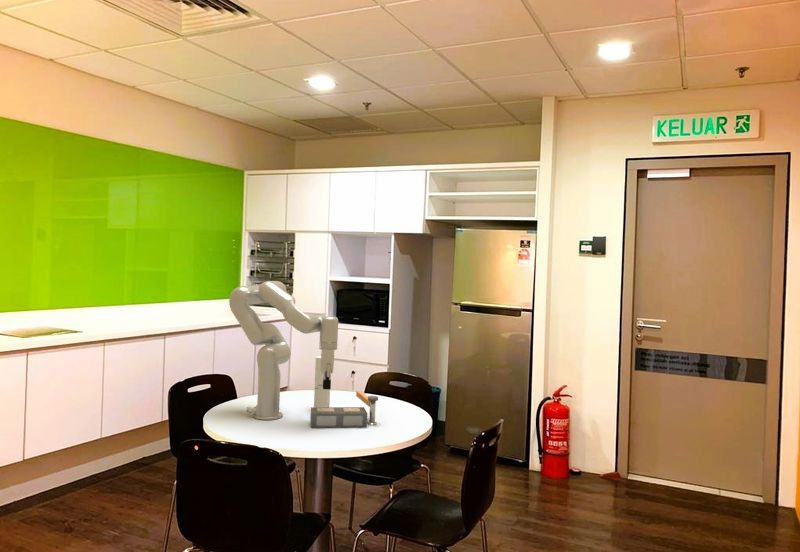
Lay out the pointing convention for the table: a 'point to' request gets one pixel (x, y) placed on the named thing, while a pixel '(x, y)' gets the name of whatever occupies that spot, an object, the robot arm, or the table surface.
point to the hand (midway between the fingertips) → (326, 388)
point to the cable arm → (366, 397)
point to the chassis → (338, 417)
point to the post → (372, 413)
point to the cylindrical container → (320, 387)
